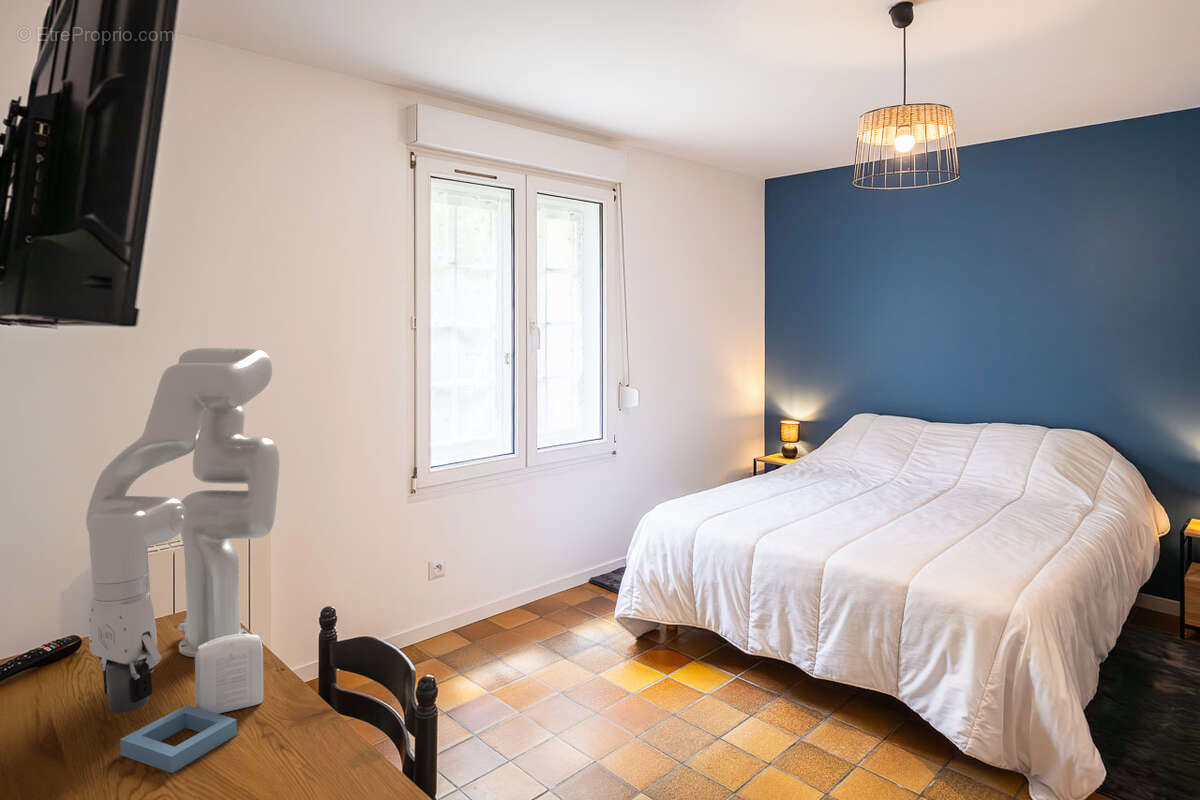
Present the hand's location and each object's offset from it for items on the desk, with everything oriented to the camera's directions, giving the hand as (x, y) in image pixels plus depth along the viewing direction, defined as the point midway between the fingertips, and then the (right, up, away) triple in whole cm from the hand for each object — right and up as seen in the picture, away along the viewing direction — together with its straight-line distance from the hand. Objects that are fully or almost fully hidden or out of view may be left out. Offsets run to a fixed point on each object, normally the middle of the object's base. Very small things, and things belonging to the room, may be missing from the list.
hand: (128, 693), depth 116 cm
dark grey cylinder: (0, -2, 0) cm, 2 cm away
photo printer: (+14, -5, +6) cm, 16 cm away
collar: (+12, -5, -6) cm, 14 cm away
